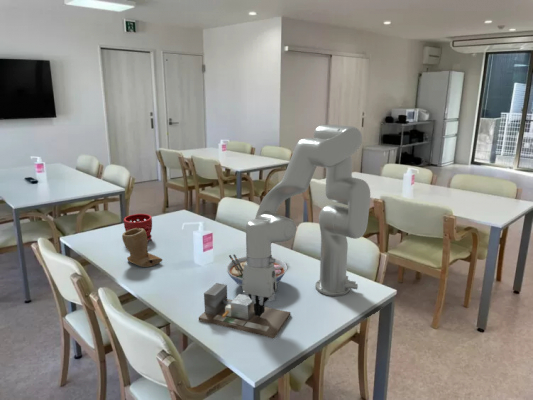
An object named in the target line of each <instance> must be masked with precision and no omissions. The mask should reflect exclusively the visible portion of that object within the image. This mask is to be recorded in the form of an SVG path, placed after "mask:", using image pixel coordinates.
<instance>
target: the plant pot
mask: <svg viewBox="0 0 533 400" xmlns="http://www.w3.org/2000/svg"><path fill="white" fill-rule="evenodd" d="M123 225H124V227H123V228H124V232H126V231H128V230H131V229H135V228H140V229H142V228H143V229H144V230H145V231H146V234H147V239H148V242H149V241H150V240H151V239H152V237H153V236H152V229H153V217H152V215H150V214H148V213H135V214H129V215H127V216H125V217H124V218H123Z"/></svg>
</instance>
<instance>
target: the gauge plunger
mask: <svg viewBox="0 0 533 400" xmlns="http://www.w3.org/2000/svg"><path fill="white" fill-rule="evenodd" d="M232 300H233V301H232V302H231V301H226V300H223V301H222V305H225V306H227V305H228V304H229V305H231V317H236V318H240V319H244V320H249V319H250V318H251V317H252V315H253V314H254V313H255V311H254V304H253V303H252V300H251V299H250V298H249V296H246V295H244V294H243V293H242V294H241V293H239V294H238V295H236V297H234V298H233V299H232Z"/></svg>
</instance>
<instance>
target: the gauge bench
mask: <svg viewBox="0 0 533 400" xmlns="http://www.w3.org/2000/svg"><path fill="white" fill-rule="evenodd" d="M203 300H204V301H203V302H204V303H203V304H204V312H203V313H201V315H199V316H198V322H204V323H206V324H212V325H215V326H219V327H224V328H229V329H232V330H237V331H242V332H245V333H250V334H255V335H258V336H263V337H266V338H270V339H276V337H277V336H278V334H279V333H280V331H281V330H282V329H283V327H284V326H285V324H286V323H287V322H288V320H289V318H291V312H290V311H286V310H282V309H277V308H272V307H267V306H265V311H264V313H262V315H261V316H258V315H257V316H255V313H254V314H253V315H252V317H251V318H250V319H249V320H244V319H240V318H236V317H229V316H225V317H222V315H223V314H224V313H225V307H226V306H225V305H222V301H223V300H226V301H231V302H232V301H233V300H234V299H229V298H228V284H224V283H218V282H216V283H215V284H213V285H212V286H210V288H209V289H207V290H206V291H205V292H204V293H203Z"/></svg>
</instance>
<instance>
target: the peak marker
mask: <svg viewBox="0 0 533 400" xmlns="http://www.w3.org/2000/svg"><path fill="white" fill-rule="evenodd" d="M225 316H229V317H231V305H229V304H228V305H227V306H226V307H225V313H224V314H223V315H222V317H225Z"/></svg>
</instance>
